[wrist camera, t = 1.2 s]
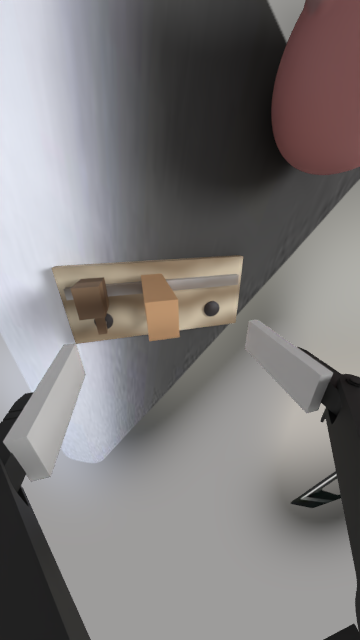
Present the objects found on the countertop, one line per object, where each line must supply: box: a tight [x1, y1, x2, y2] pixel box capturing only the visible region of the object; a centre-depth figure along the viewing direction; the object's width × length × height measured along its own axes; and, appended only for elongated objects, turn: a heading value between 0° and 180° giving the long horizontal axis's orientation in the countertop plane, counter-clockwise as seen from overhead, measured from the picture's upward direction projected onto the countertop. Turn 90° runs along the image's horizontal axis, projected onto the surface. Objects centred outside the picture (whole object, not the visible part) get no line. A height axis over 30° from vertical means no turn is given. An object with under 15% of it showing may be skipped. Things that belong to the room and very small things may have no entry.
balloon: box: [271, 0, 360, 175], centre depth 17 cm, size 15×20×15 cm
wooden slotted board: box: [52, 255, 243, 344], centre depth 28 cm, size 12×28×7 cm, turn 92°
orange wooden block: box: [141, 274, 179, 341], centre depth 24 cm, size 8×3×12 cm, turn 2°
